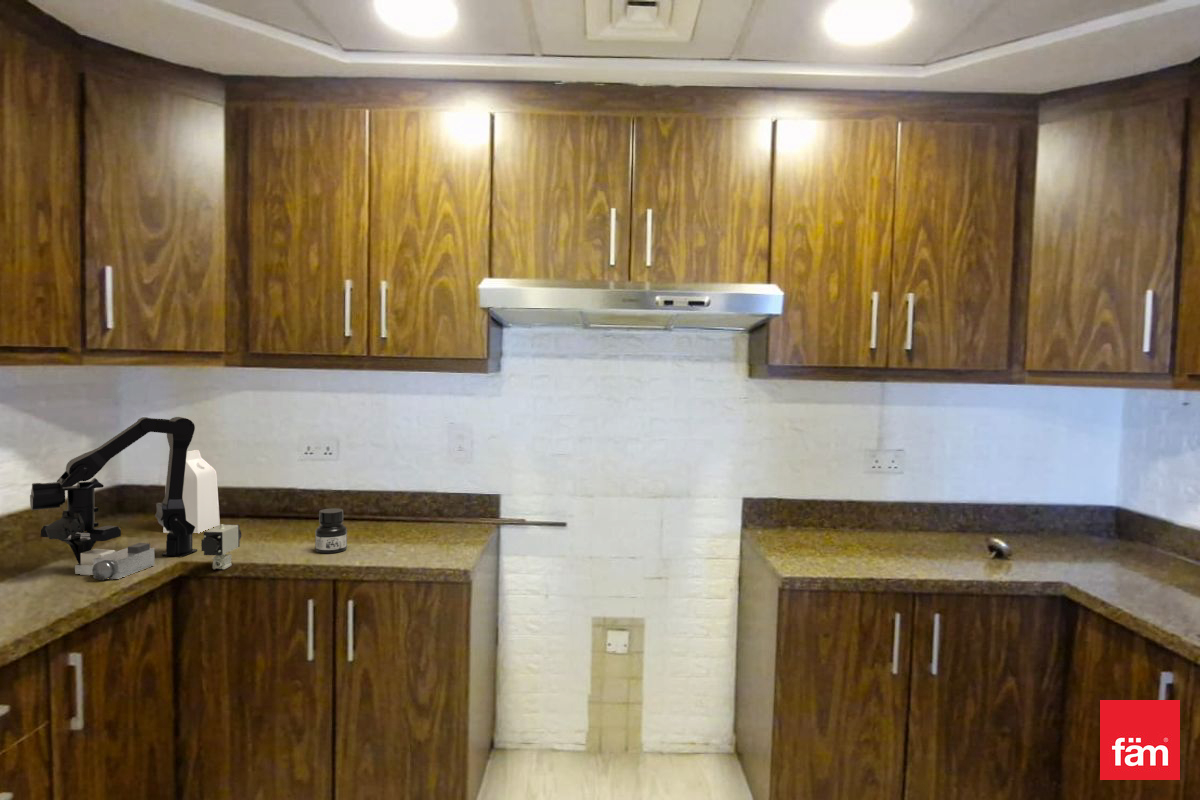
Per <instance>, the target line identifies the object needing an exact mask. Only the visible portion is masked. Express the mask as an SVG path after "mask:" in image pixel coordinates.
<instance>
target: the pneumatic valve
mask: <svg viewBox="0 0 1200 800" xmlns="http://www.w3.org/2000/svg"><path fill="white" fill-rule="evenodd" d="M242 536H243V535H242V531H241V529H240V524H225V523H220V525H219V526H216V527H214V528H211V529H209V530H206V531H204V532H203V538H202V539H201V543H200V544H201V545H200V546H201V547H200V548H201V552H203V556H213V557H212V561H213V562H212V569H213V570H223V571H224V570H226V569H228V568H229V567H232V564H233V563H232V554H231V551H234V550H235V549H238V548H239V547H240V540H241V538H242ZM227 553H228V554H227Z"/></svg>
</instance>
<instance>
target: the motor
mask: <svg viewBox="0 0 1200 800" xmlns="http://www.w3.org/2000/svg"><path fill="white" fill-rule="evenodd" d="M150 545H151V544H150V543H148V542H147V543H146V542H138V543H136V544H132V545H129V546H127V547H125V548H123V549H120V550H115V552H113V553H110V554H107V555H104V556H101V557H98V558H95V559H93V565H92V564H79V563H77V564H75V565H74V573H75V574H80V575H79V576H81V575H82V576H90V575H94V576H93V579H96V580H98V581H105V580H113V579H119V578H122V577H125V576H127V575H130V574H133V573H135V572H138V571H140V570H143V569H145V568H148V567H151V566H153V565H155V563H156V562H155V561H156V560H155V547H151V546H150ZM151 568H152V567H151ZM148 569H149V568H148ZM143 571H144V570H143ZM140 572H141V571H140ZM138 573H139V572H138ZM75 574H74V575H75ZM135 574H136V573H135ZM133 575H134V574H133ZM130 576H131V575H130ZM127 577H128V576H127ZM107 578H109V579H107ZM125 578H126V577H125ZM122 579H123V578H122ZM119 580H120V579H119Z"/></svg>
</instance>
